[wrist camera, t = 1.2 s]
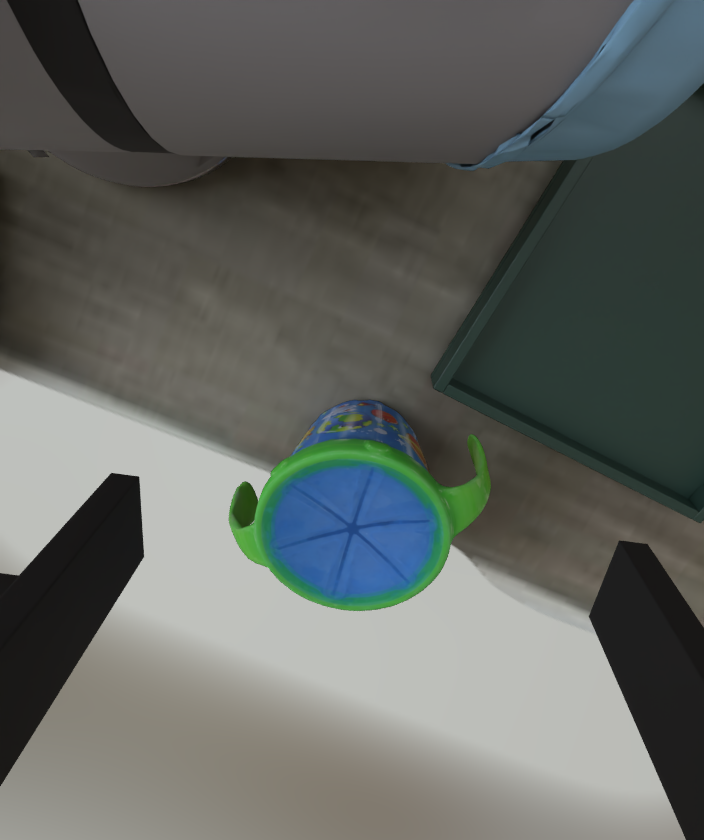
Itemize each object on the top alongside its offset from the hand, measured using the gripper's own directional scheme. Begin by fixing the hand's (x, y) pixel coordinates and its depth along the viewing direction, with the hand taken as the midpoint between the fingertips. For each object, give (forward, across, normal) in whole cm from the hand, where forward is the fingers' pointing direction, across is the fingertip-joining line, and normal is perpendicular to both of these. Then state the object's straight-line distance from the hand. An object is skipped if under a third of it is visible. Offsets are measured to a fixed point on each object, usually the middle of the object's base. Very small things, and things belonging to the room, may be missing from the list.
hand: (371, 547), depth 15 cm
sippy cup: (+22, 0, -8) cm, 23 cm away
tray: (+21, +16, +4) cm, 27 cm away
